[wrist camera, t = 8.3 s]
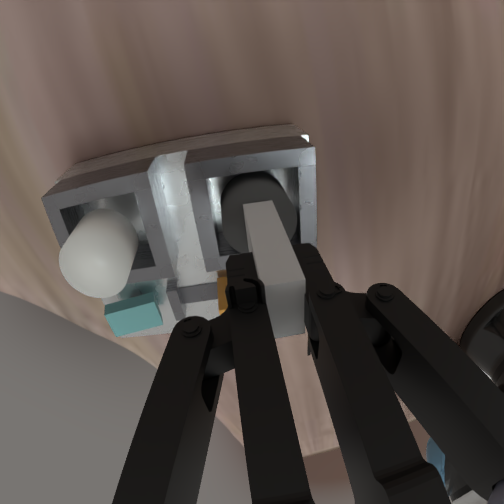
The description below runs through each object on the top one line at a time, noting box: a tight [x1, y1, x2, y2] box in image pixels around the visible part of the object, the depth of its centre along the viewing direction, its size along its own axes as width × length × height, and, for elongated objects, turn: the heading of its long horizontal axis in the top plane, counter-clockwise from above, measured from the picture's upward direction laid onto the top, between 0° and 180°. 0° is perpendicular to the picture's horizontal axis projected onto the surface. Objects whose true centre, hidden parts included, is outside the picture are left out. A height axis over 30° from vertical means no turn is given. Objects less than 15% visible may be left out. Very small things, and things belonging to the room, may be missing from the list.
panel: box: [41, 124, 317, 338], centre depth 23 cm, size 15×17×7 cm
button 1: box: [59, 209, 138, 298], centre depth 16 cm, size 4×4×3 cm
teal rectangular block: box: [104, 292, 163, 337], centre depth 23 cm, size 2×4×1 cm, turn 96°
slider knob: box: [217, 276, 228, 315], centre depth 23 cm, size 3×3×4 cm
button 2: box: [220, 171, 297, 253], centre depth 18 cm, size 4×4×3 cm
